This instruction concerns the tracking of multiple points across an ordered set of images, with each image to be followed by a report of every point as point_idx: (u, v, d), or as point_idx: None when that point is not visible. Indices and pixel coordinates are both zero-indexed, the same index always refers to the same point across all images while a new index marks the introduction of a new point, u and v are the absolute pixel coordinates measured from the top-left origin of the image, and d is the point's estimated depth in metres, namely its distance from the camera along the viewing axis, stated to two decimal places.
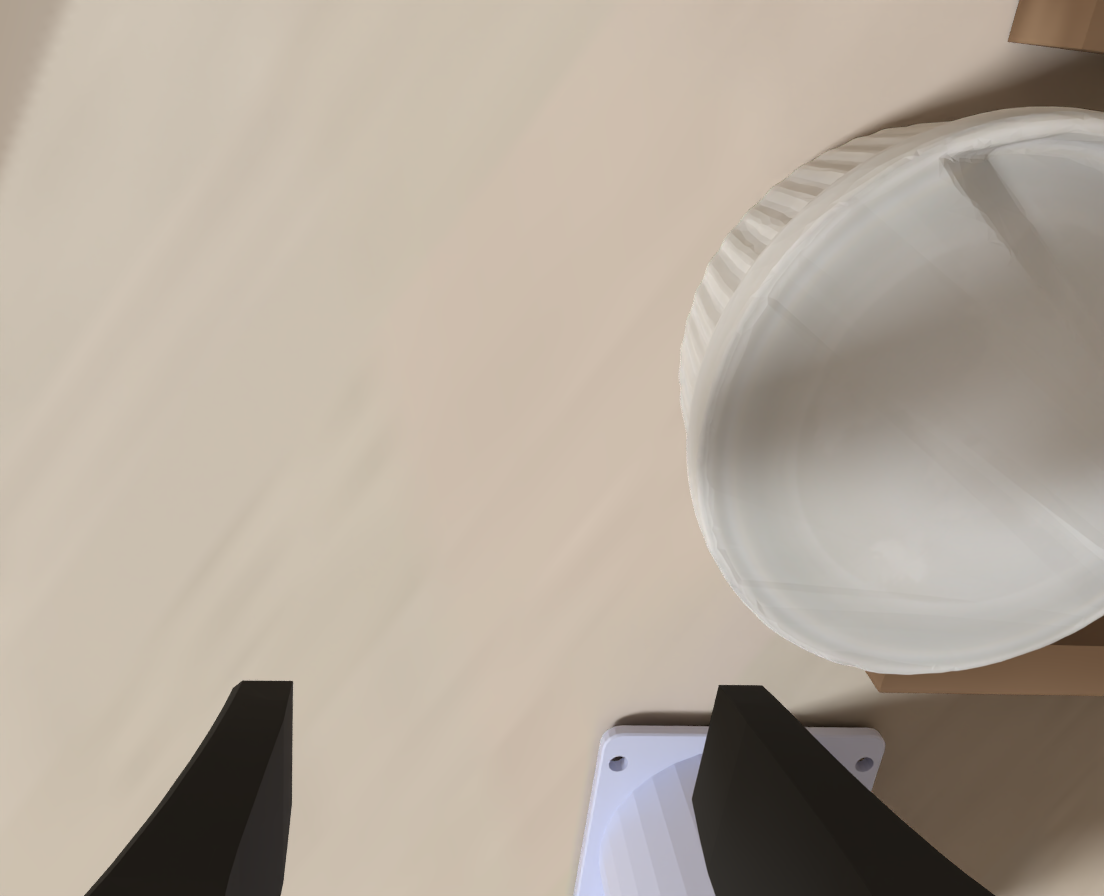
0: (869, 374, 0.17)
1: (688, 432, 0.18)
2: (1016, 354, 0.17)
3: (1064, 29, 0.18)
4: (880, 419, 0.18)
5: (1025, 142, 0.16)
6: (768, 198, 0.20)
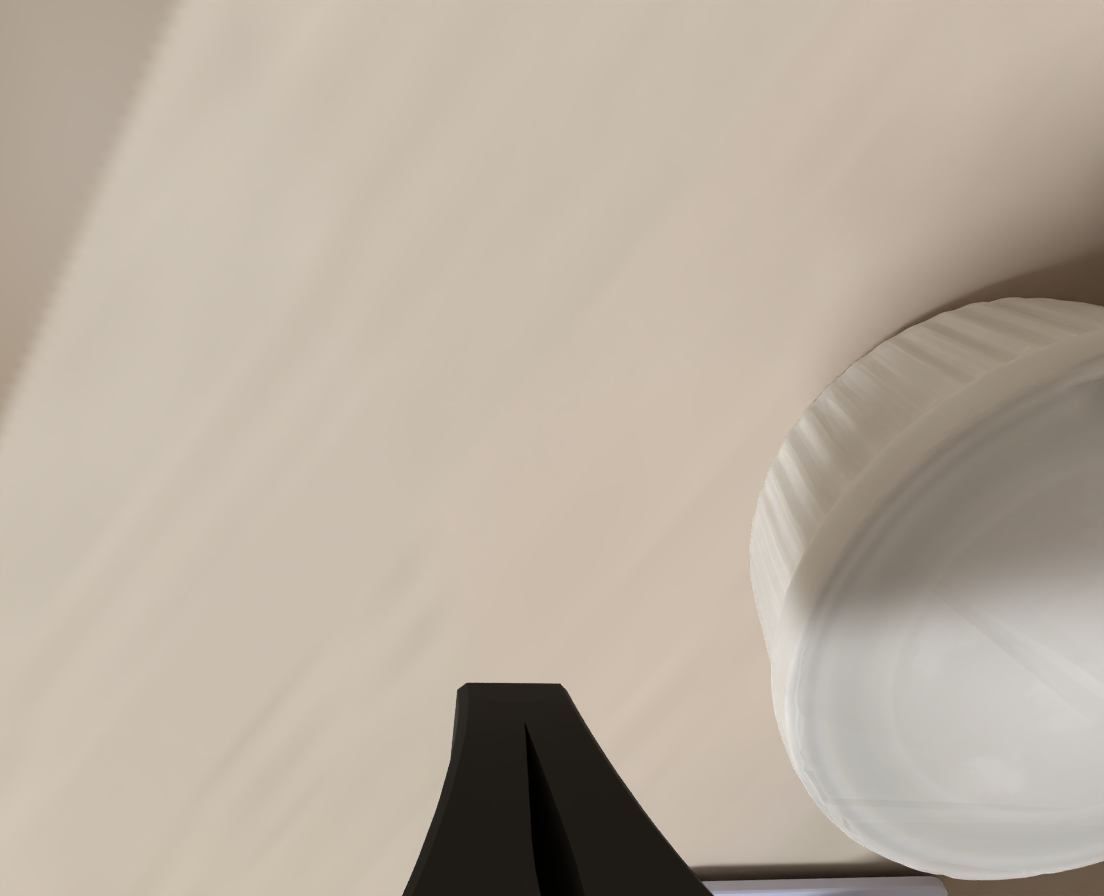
0: (976, 599, 0.16)
1: (775, 650, 0.17)
2: None
3: None
4: (985, 642, 0.16)
5: None
6: (853, 378, 0.18)
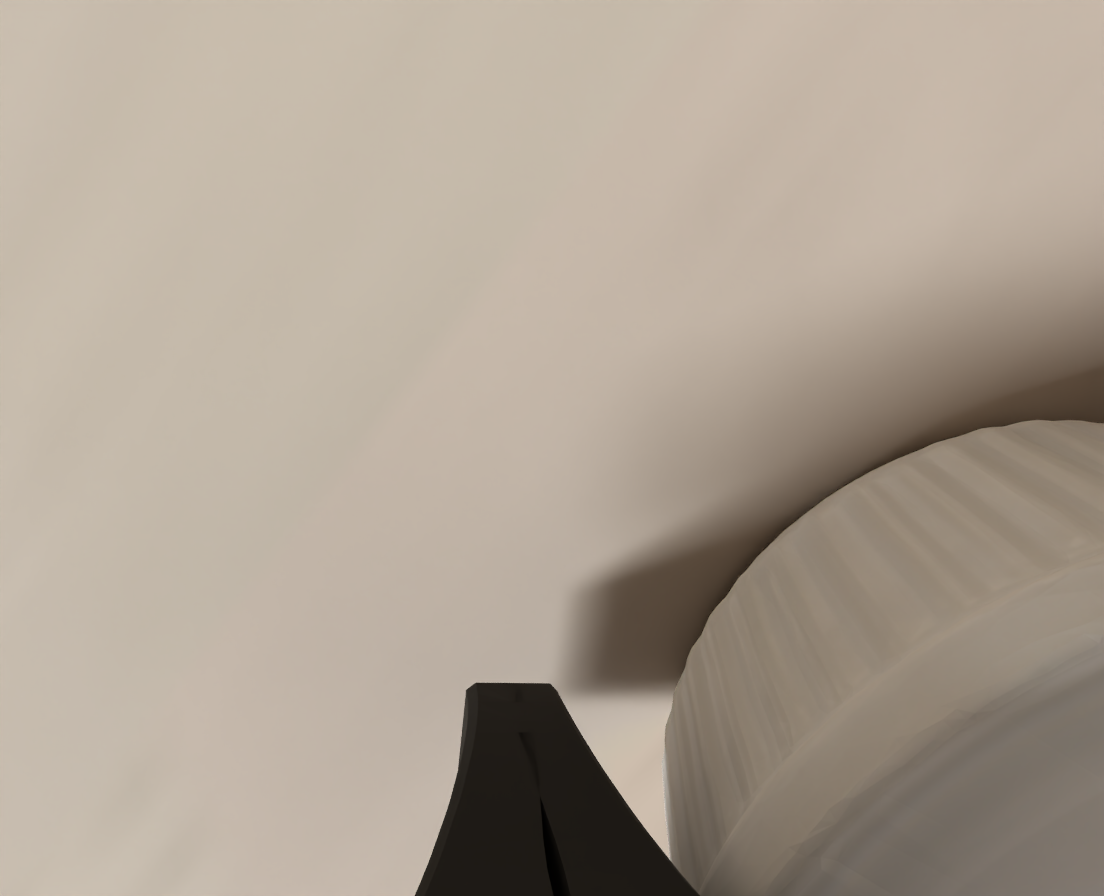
0: None
1: None
2: None
3: None
4: None
5: None
6: (806, 543, 0.12)
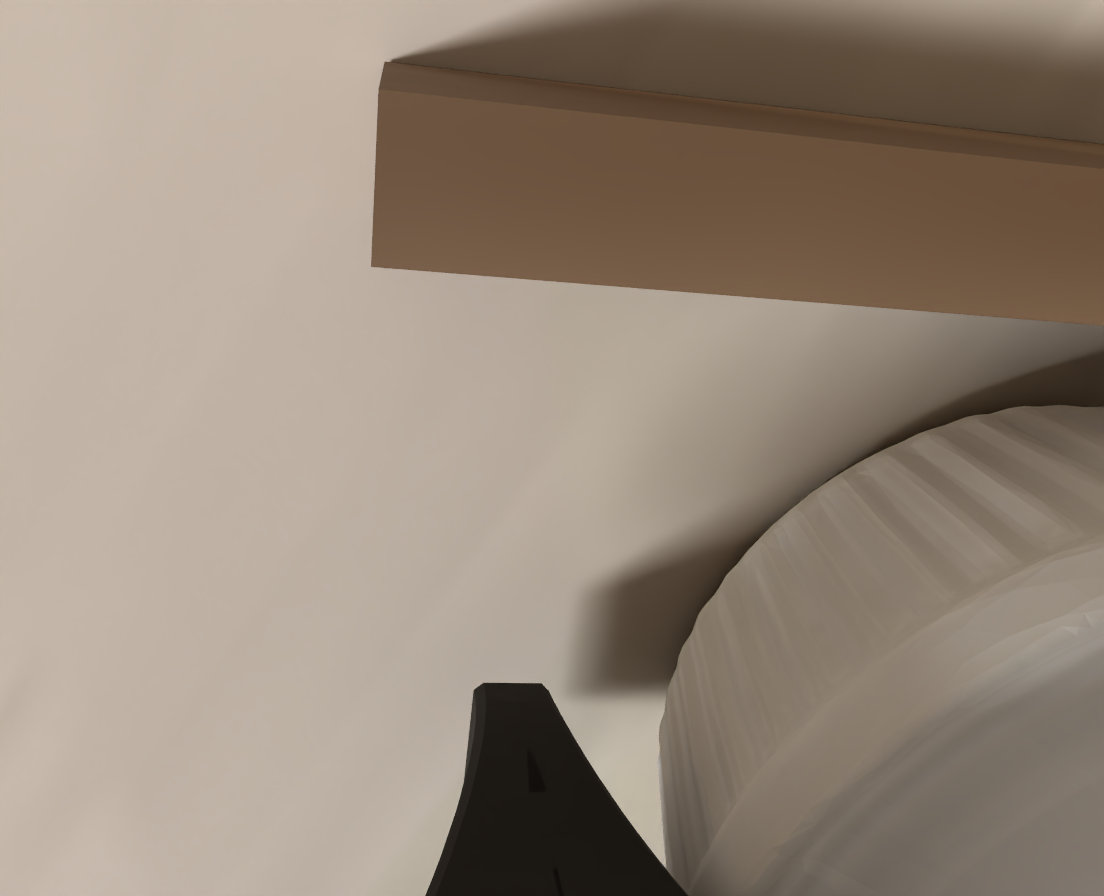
0: None
1: None
2: None
3: None
4: None
5: None
6: (792, 538, 0.12)
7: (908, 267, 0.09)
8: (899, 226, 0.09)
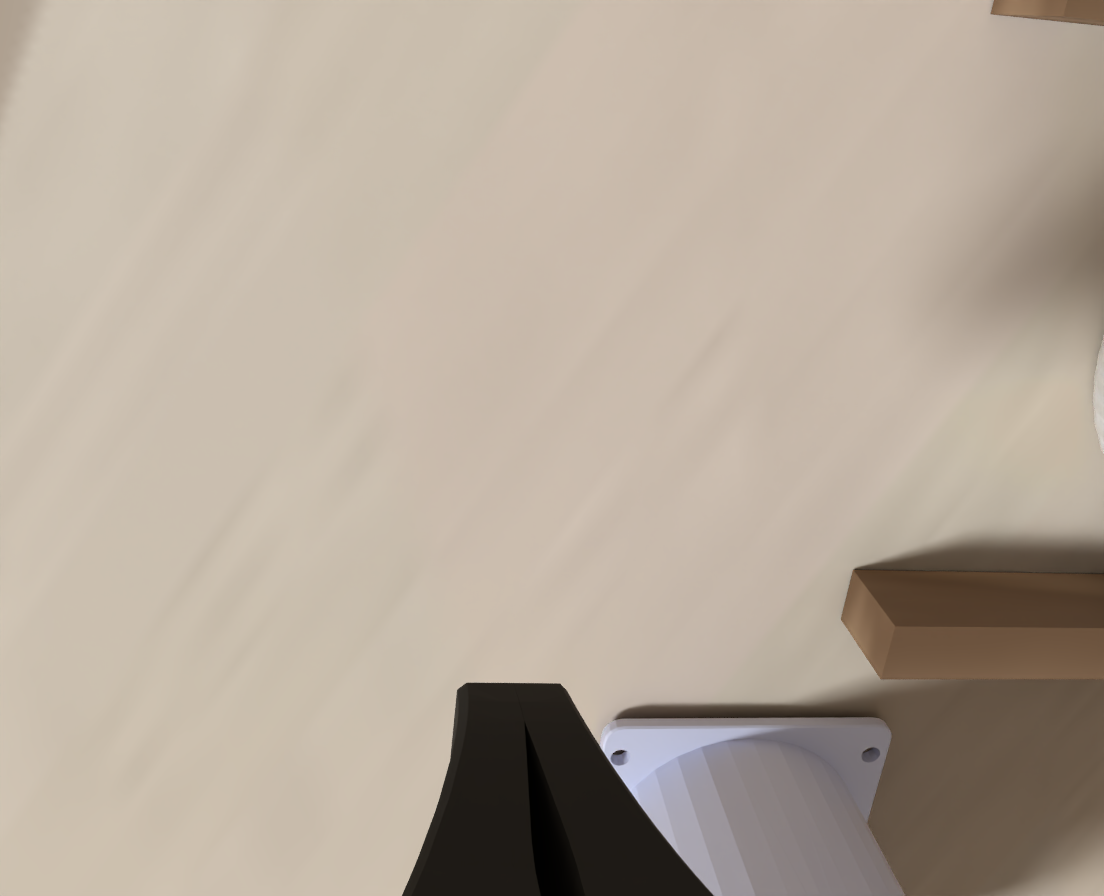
0: None
1: None
2: None
3: None
4: None
5: None
6: None
7: None
8: None
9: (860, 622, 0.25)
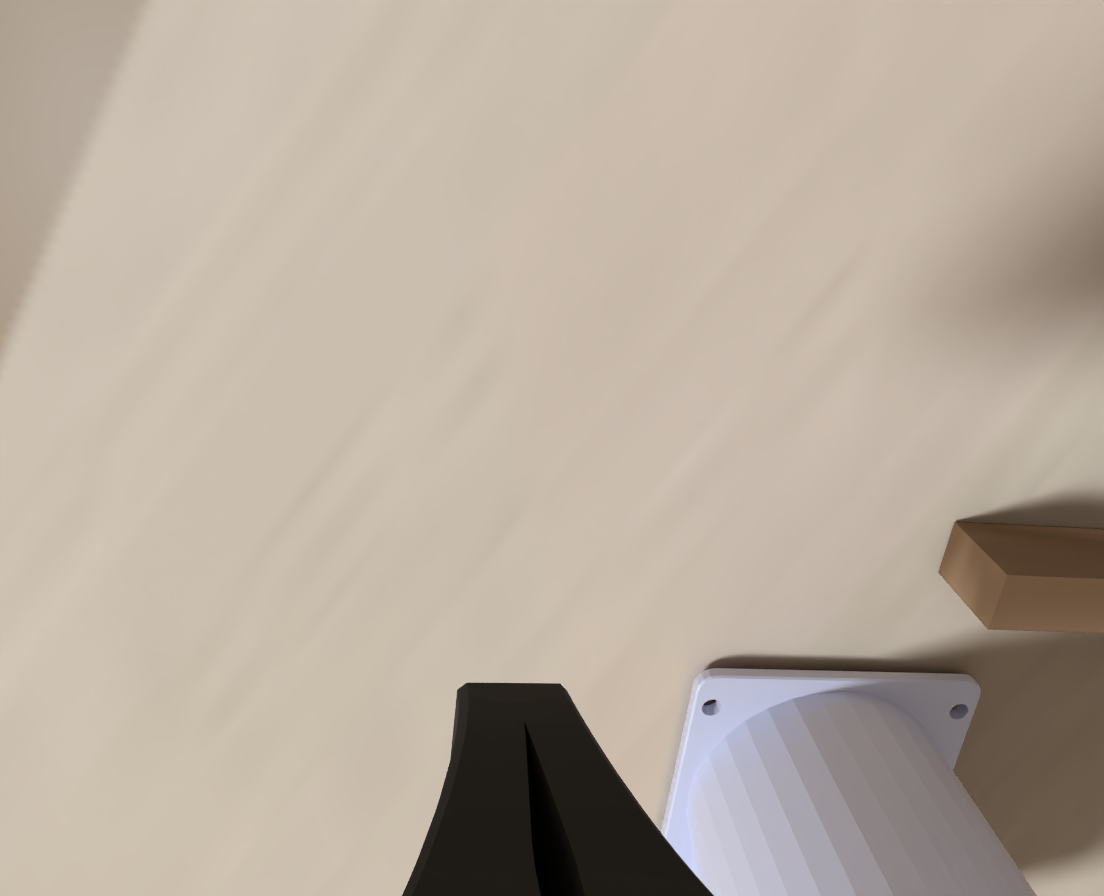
0: None
1: None
2: None
3: None
4: None
5: None
6: None
7: None
8: None
9: (963, 574, 0.24)
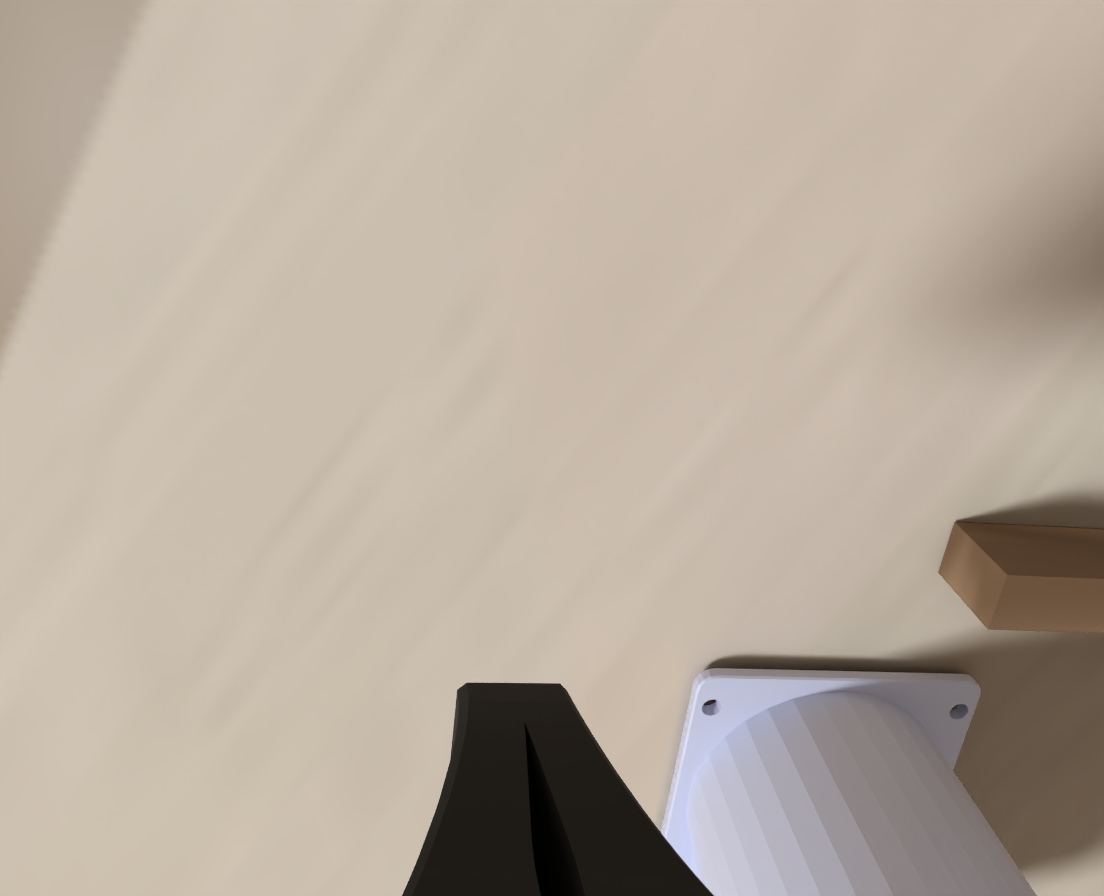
0: None
1: None
2: None
3: None
4: None
5: None
6: None
7: None
8: None
9: (963, 574, 0.24)
